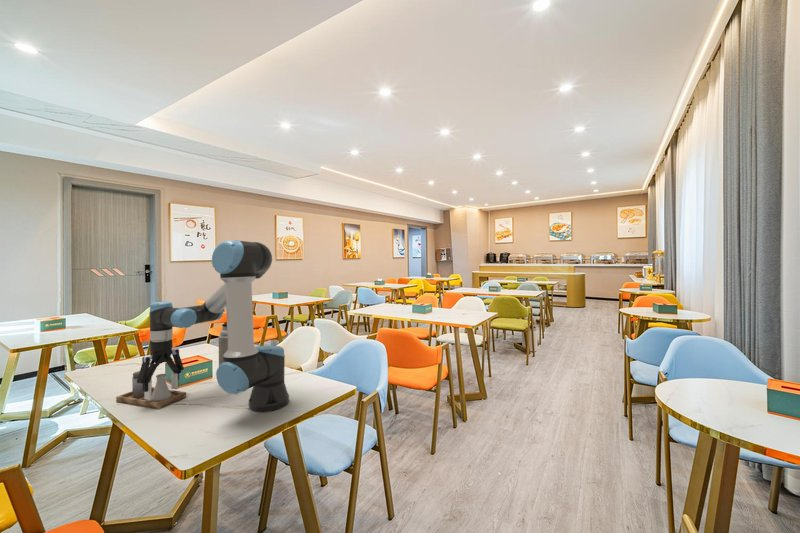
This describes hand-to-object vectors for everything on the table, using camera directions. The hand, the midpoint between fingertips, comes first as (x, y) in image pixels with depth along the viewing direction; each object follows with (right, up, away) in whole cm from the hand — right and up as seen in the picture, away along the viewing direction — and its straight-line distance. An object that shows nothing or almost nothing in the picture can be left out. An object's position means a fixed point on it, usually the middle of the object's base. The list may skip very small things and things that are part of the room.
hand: (161, 393), depth 137 cm
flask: (0, -2, 0) cm, 3 cm away
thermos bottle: (+16, -3, +21) cm, 27 cm away
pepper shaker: (-10, -2, +3) cm, 11 cm away
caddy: (-5, -3, +2) cm, 6 cm away
